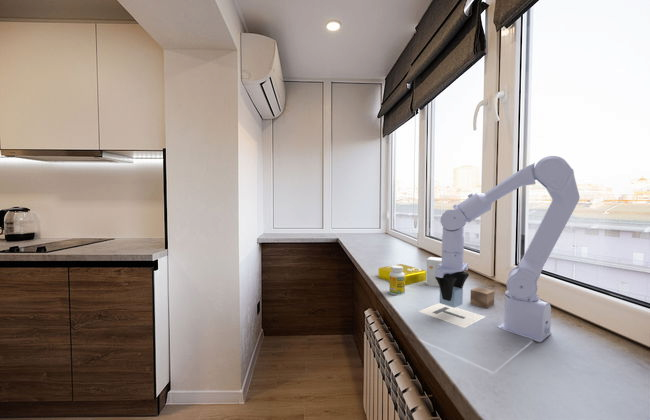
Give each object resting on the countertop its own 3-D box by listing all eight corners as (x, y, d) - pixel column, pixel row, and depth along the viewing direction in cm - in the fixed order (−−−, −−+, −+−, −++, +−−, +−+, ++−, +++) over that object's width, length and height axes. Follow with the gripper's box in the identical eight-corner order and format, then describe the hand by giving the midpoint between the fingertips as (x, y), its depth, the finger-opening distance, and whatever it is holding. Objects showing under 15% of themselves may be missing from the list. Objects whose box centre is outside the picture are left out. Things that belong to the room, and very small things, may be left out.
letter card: (485, 317, 84) (485, 316, 83) (464, 329, 76) (464, 327, 76) (440, 303, 95) (440, 302, 95) (418, 312, 87) (418, 311, 87)
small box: (451, 285, 114) (451, 258, 113) (448, 289, 109) (449, 261, 109) (429, 282, 118) (430, 256, 118) (426, 285, 113) (426, 258, 113)
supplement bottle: (396, 290, 108) (396, 264, 108) (408, 294, 104) (408, 267, 103) (386, 292, 105) (386, 266, 105) (397, 296, 101) (397, 269, 100)
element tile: (400, 273, 134) (400, 262, 134) (428, 281, 122) (428, 269, 121) (376, 277, 126) (376, 266, 126) (403, 287, 113) (403, 274, 113)
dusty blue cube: (462, 304, 85) (462, 288, 85) (454, 307, 82) (454, 291, 82) (447, 299, 88) (448, 285, 88) (439, 303, 86) (439, 287, 86)
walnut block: (494, 306, 93) (494, 290, 92) (486, 310, 90) (487, 294, 89) (477, 301, 97) (478, 286, 96) (470, 305, 93) (470, 289, 93)
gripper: (452, 246, 92) (451, 289, 93) (425, 252, 83) (424, 299, 84) (475, 250, 87) (474, 295, 87) (449, 256, 78) (447, 306, 78)
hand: (451, 298), depth 85 cm, fingers closed on dusty blue cube, 4 cm apart
